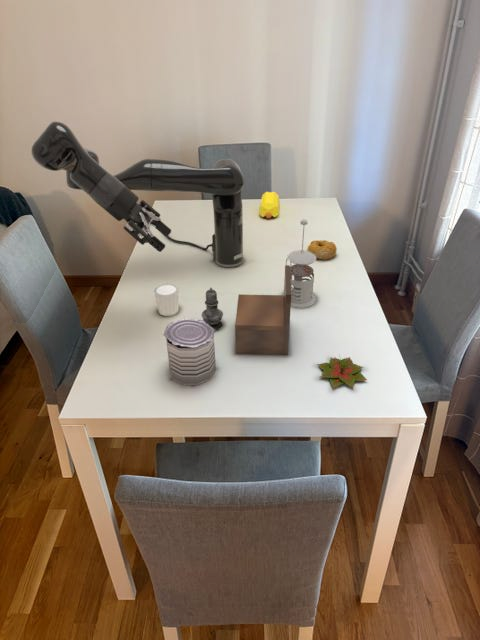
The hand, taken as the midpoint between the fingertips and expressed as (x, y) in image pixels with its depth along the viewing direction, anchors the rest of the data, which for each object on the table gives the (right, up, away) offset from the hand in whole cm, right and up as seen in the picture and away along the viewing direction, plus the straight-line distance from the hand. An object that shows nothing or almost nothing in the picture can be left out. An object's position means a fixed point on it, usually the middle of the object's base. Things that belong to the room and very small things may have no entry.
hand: (166, 241), depth 121 cm
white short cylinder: (-2, -17, +19) cm, 25 cm away
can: (+7, -32, -3) cm, 33 cm away
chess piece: (+11, -21, +13) cm, 27 cm away
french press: (+36, -13, +24) cm, 45 cm away
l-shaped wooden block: (+24, -24, +8) cm, 35 cm away
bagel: (+46, +3, +46) cm, 66 cm away
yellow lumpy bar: (+30, +25, +77) cm, 87 cm away
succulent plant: (+43, -33, -5) cm, 54 cm away
